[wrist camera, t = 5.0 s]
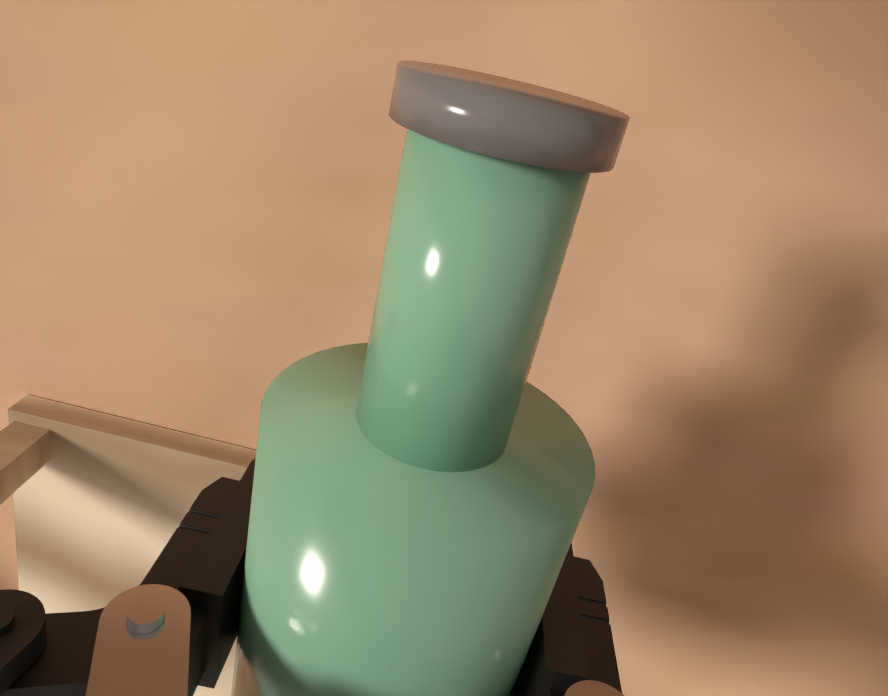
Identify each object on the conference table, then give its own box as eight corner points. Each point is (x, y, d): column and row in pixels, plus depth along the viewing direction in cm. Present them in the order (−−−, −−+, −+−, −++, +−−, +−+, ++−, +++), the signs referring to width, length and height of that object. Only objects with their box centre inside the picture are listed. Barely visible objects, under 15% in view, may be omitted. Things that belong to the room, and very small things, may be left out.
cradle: (28, 394, 23) (-142, 516, 17) (303, 461, 23) (231, 606, 17) (39, 657, 28) (-86, 819, 22) (262, 711, 28) (196, 886, 22)
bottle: (335, 33, 10) (243, 53, 6) (655, 107, 11) (813, 181, 6) (261, 617, 16) (187, 865, 11) (472, 649, 17) (482, 898, 12)
